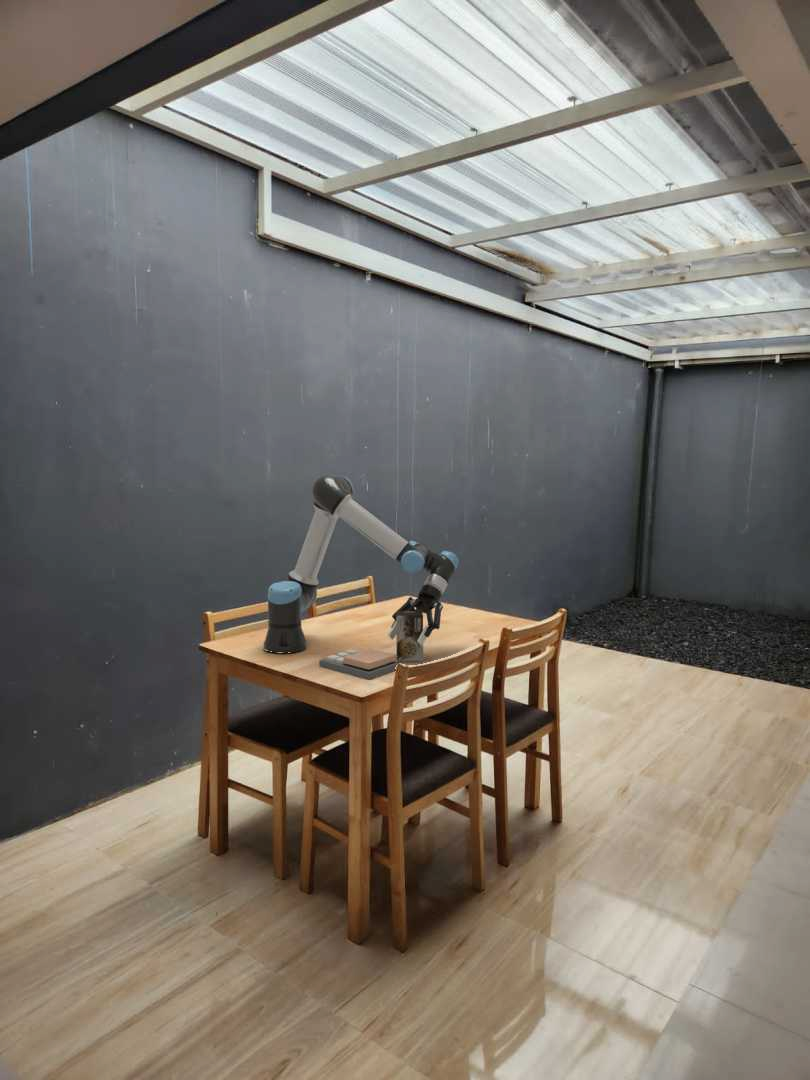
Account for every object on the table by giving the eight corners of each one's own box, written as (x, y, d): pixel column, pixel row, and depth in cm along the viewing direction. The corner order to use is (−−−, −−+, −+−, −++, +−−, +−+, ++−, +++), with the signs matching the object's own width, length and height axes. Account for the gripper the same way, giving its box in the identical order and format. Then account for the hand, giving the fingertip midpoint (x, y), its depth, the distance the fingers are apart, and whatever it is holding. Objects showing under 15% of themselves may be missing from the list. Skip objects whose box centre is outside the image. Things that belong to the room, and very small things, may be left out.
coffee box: (422, 656, 240) (422, 610, 238) (423, 661, 233) (423, 614, 232) (395, 656, 239) (396, 610, 238) (396, 661, 233) (396, 614, 231)
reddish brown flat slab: (343, 663, 222) (343, 657, 222) (370, 654, 232) (370, 648, 232) (368, 669, 215) (368, 663, 215) (395, 660, 225) (395, 654, 225)
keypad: (319, 666, 227) (319, 657, 227) (353, 655, 239) (353, 647, 239) (369, 679, 213) (369, 670, 213) (402, 668, 226) (402, 659, 225)
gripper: (465, 600, 239) (438, 653, 228) (410, 592, 254) (382, 640, 244) (456, 587, 234) (428, 640, 224) (401, 579, 249) (372, 628, 239)
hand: (404, 640), depth 234 cm, fingers open, 12 cm apart
